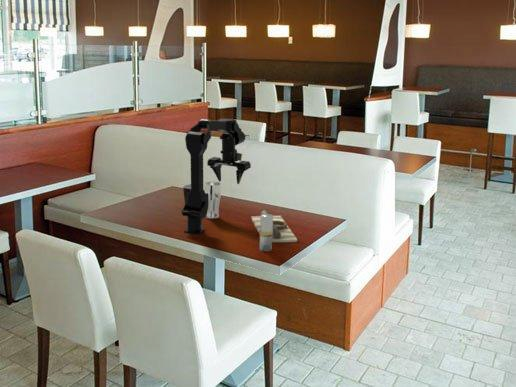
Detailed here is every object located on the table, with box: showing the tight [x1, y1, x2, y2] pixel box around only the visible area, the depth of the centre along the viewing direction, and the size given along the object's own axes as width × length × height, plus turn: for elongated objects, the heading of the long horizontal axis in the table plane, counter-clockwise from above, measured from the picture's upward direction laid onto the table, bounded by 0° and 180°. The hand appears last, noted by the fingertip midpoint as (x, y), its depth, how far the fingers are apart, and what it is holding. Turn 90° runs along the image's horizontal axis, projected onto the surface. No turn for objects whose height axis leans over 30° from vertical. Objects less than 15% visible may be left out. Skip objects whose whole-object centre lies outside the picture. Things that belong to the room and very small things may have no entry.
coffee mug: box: [182, 183, 191, 205], centre depth 262 cm, size 12×9×10 cm
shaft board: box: [250, 210, 298, 243], centre depth 237 cm, size 32×13×4 cm, turn 10°
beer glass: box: [204, 181, 222, 220], centre depth 250 cm, size 7×7×15 cm
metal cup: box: [259, 213, 274, 252], centre depth 213 cm, size 5×5×13 cm
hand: (229, 182), depth 253 cm, fingers open, 9 cm apart
